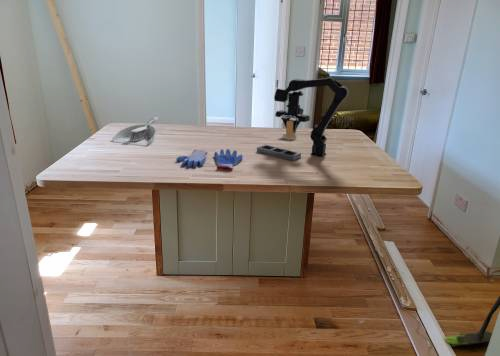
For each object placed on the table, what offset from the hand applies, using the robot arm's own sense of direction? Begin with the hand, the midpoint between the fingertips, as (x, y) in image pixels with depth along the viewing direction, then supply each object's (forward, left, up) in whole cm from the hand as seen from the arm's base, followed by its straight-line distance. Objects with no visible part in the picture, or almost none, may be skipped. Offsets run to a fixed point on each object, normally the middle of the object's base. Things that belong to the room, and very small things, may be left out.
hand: (291, 131), depth 216 cm
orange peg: (0, 0, -3) cm, 3 cm away
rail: (0, +12, -11) cm, 16 cm away
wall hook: (+14, -22, -11) cm, 28 cm away
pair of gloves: (+20, +45, -11) cm, 50 cm away
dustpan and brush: (+77, +39, -11) cm, 87 cm away
